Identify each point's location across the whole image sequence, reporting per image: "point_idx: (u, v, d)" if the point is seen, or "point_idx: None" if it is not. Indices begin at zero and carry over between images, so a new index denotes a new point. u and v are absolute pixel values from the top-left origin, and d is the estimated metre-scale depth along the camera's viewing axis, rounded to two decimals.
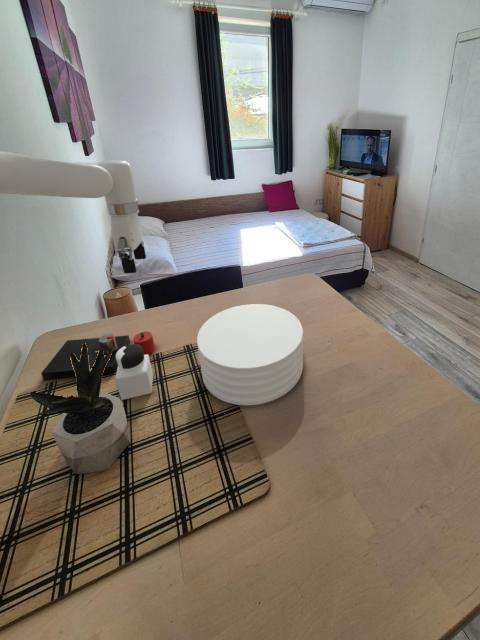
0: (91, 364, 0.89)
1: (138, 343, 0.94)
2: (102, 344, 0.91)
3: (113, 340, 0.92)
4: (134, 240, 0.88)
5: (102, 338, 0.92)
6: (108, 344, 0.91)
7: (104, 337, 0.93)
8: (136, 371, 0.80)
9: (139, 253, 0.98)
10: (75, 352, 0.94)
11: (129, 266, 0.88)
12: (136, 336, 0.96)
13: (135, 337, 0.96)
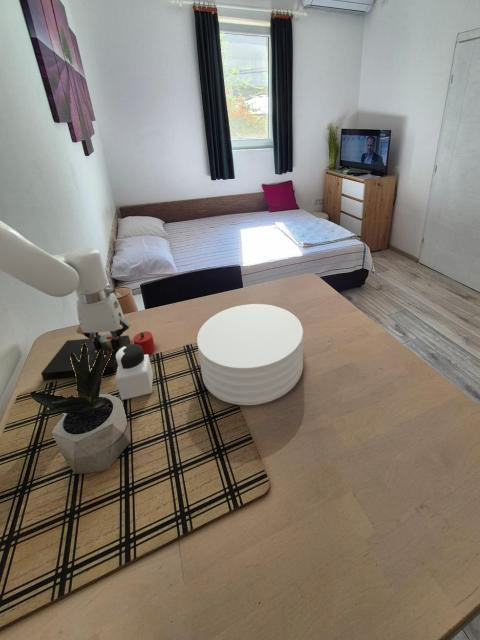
0: (91, 364, 0.89)
1: (138, 343, 0.94)
2: (102, 344, 0.91)
3: None
4: (86, 325, 0.88)
5: (102, 338, 0.92)
6: (108, 344, 0.91)
7: (104, 337, 0.93)
8: (136, 371, 0.80)
9: None
10: (75, 352, 0.94)
11: None
12: (136, 336, 0.96)
13: (135, 337, 0.96)
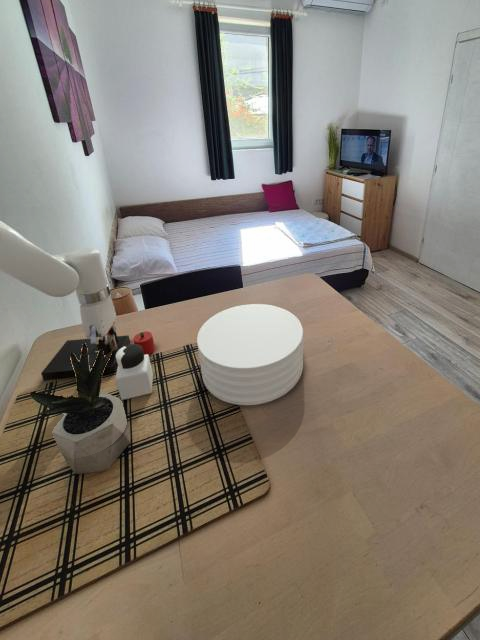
0: (91, 364, 0.89)
1: (138, 343, 0.94)
2: (113, 340, 0.92)
3: None
4: (105, 326, 0.87)
5: None
6: None
7: None
8: (136, 371, 0.80)
9: None
10: (75, 352, 0.94)
11: (104, 350, 0.90)
12: (136, 336, 0.96)
13: (135, 337, 0.96)
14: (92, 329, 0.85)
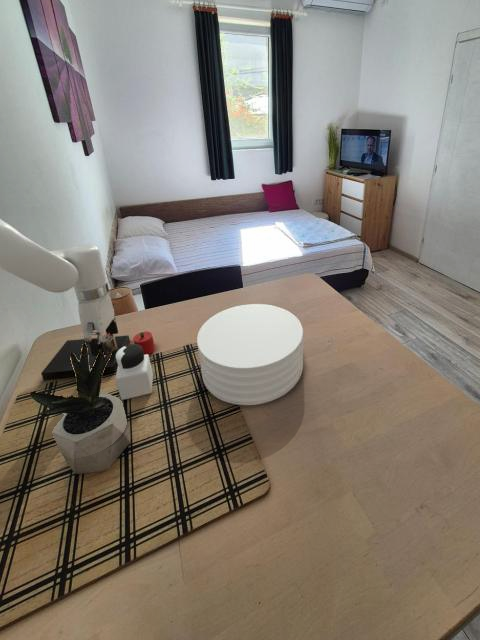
0: (91, 364, 0.89)
1: (138, 343, 0.94)
2: (113, 340, 0.92)
3: None
4: (103, 323, 0.87)
5: (105, 340, 0.91)
6: None
7: (104, 339, 0.92)
8: (136, 371, 0.80)
9: (111, 328, 0.96)
10: (75, 352, 0.94)
11: (97, 350, 0.86)
12: (136, 336, 0.96)
13: (135, 337, 0.96)
14: None
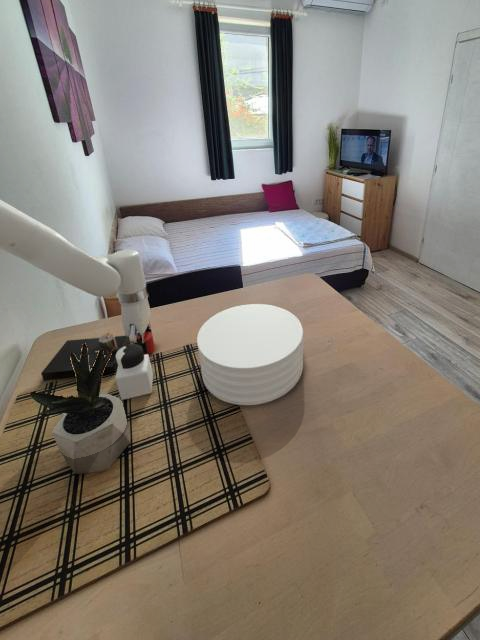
0: (91, 364, 0.89)
1: None
2: (113, 340, 0.92)
3: None
4: (143, 324, 0.91)
5: (105, 340, 0.91)
6: None
7: (104, 339, 0.92)
8: (136, 371, 0.80)
9: None
10: (75, 352, 0.94)
11: None
12: (136, 336, 0.96)
13: None
14: (132, 328, 0.89)
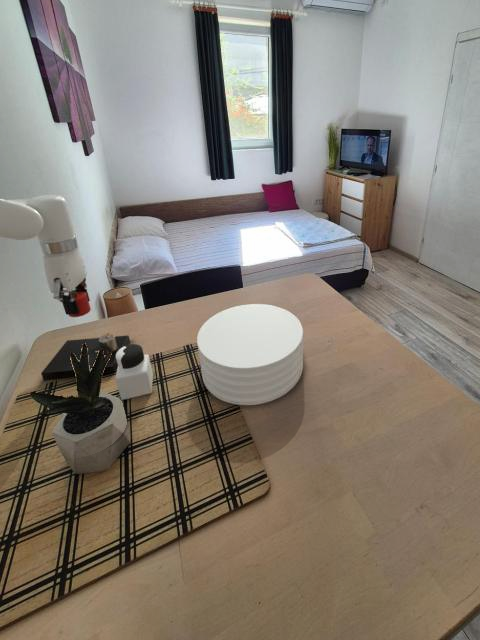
0: (91, 364, 0.89)
1: None
2: (113, 340, 0.92)
3: None
4: (72, 280, 0.82)
5: (105, 340, 0.91)
6: None
7: (104, 339, 0.92)
8: (136, 371, 0.80)
9: None
10: (75, 352, 0.94)
11: (71, 308, 0.84)
12: (68, 295, 0.87)
13: None
14: (57, 282, 0.80)
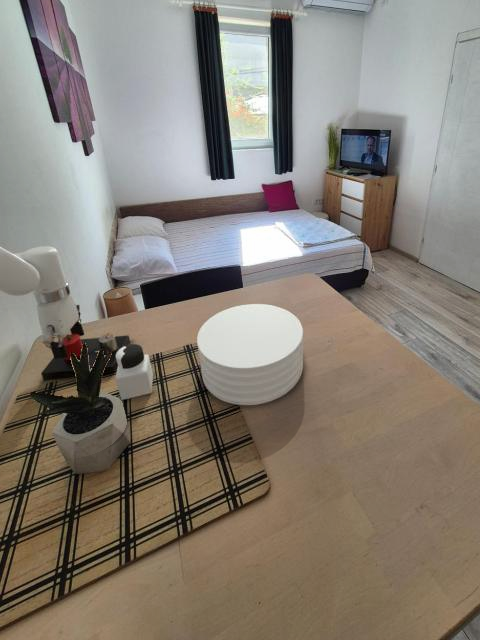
0: (91, 364, 0.89)
1: None
2: (113, 340, 0.92)
3: None
4: (64, 326, 0.86)
5: (105, 340, 0.91)
6: None
7: (104, 339, 0.92)
8: (136, 371, 0.80)
9: (76, 331, 0.95)
10: None
11: (59, 352, 0.86)
12: None
13: None
14: None
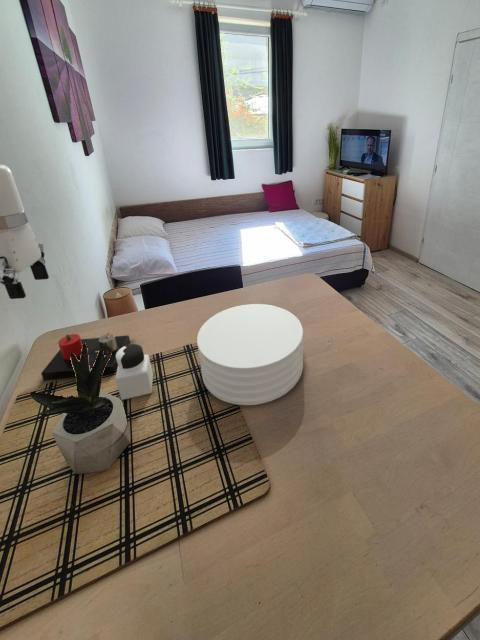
0: (91, 364, 0.89)
1: (62, 346, 0.89)
2: (113, 340, 0.92)
3: None
4: (21, 260, 0.74)
5: (105, 340, 0.91)
6: None
7: (104, 339, 0.92)
8: (136, 371, 0.80)
9: (39, 273, 0.83)
10: None
11: (14, 291, 0.74)
12: (62, 339, 0.91)
13: (61, 340, 0.91)
14: None
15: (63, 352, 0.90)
